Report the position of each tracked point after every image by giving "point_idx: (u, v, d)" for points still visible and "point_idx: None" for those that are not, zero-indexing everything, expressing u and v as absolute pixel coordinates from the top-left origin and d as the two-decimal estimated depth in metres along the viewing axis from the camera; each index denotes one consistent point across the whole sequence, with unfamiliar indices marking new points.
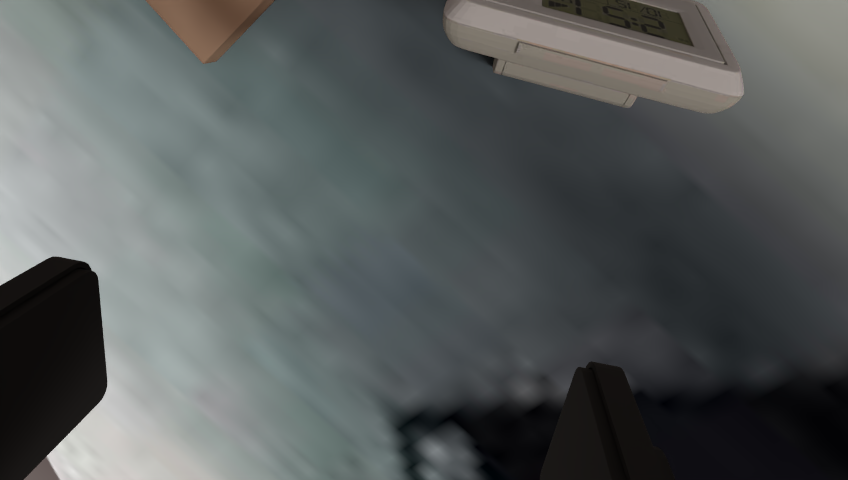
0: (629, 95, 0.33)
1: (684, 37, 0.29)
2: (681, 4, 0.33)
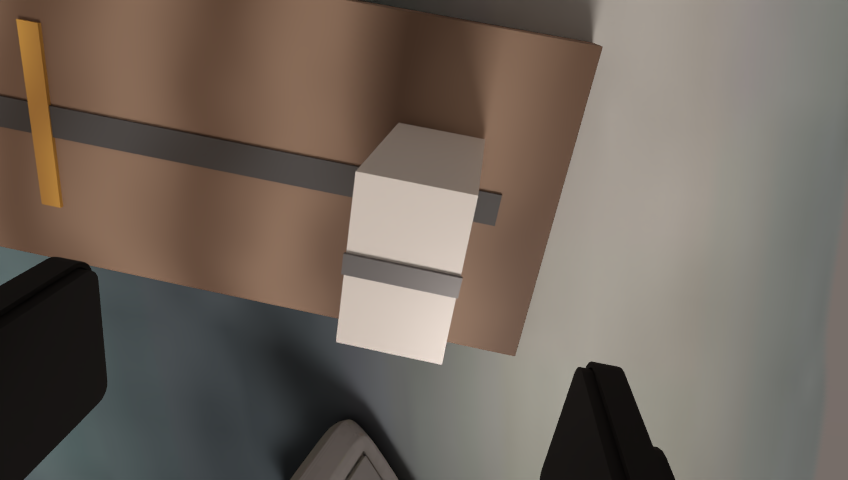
0: None
1: None
2: None
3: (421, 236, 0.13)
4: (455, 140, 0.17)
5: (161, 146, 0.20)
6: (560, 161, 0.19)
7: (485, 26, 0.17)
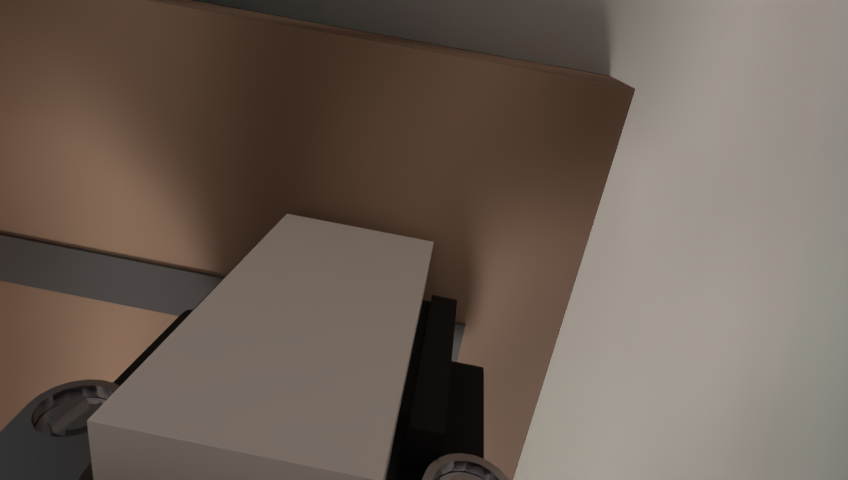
0: None
1: None
2: None
3: None
4: (378, 252, 0.10)
5: None
6: (561, 274, 0.11)
7: (428, 53, 0.10)
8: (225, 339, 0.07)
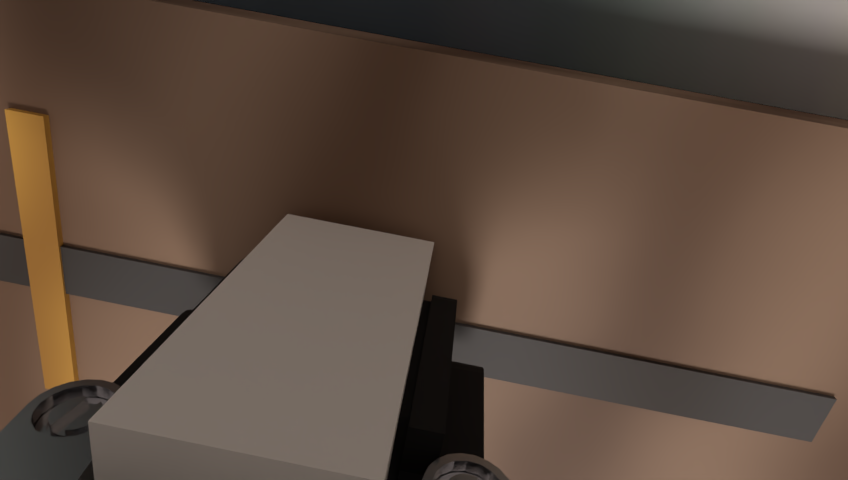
0: None
1: None
2: None
3: None
4: (379, 253, 0.10)
5: None
6: None
7: None
8: (226, 339, 0.07)
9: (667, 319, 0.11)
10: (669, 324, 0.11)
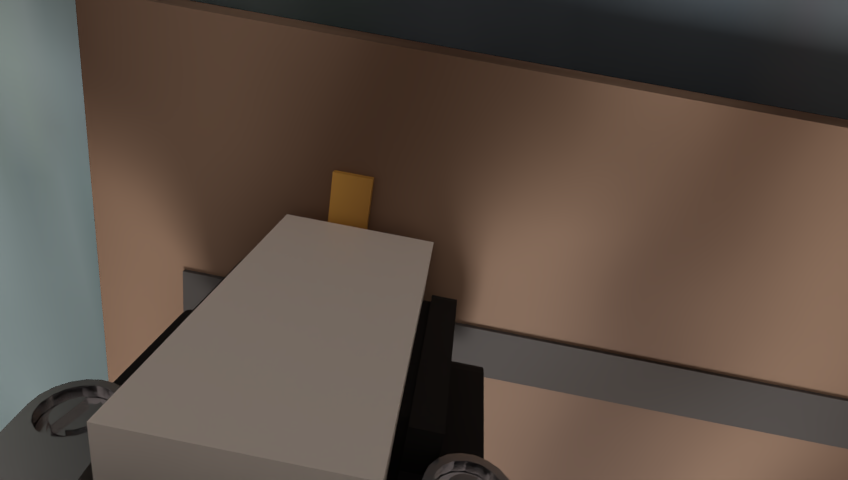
0: None
1: None
2: None
3: None
4: (378, 253, 0.10)
5: (544, 368, 0.12)
6: None
7: None
8: (225, 340, 0.07)
9: None
10: None
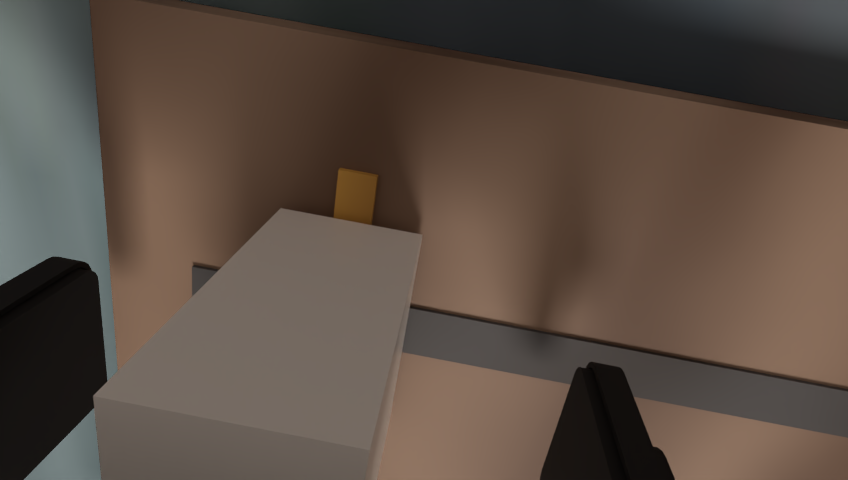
0: None
1: None
2: None
3: None
4: (369, 244, 0.10)
5: (542, 359, 0.12)
6: None
7: None
8: (222, 324, 0.07)
9: None
10: None
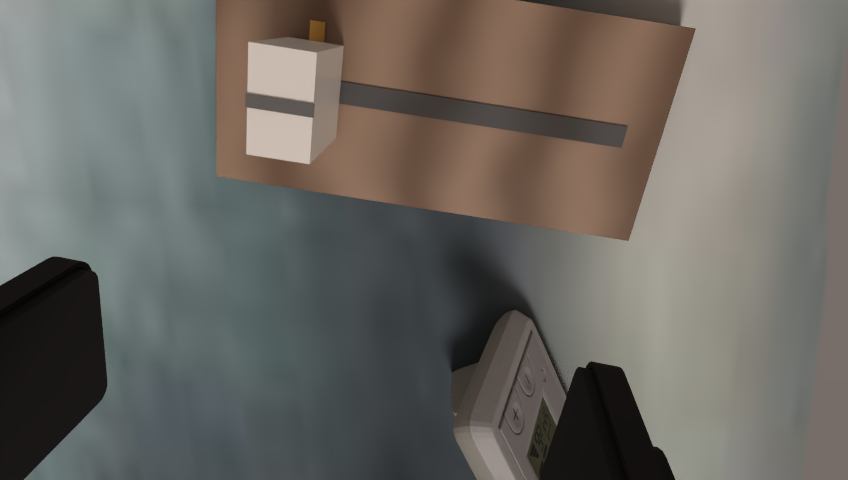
0: None
1: None
2: None
3: (289, 80, 0.24)
4: (322, 43, 0.28)
5: (397, 104, 0.30)
6: (666, 102, 0.29)
7: (624, 17, 0.28)
8: (275, 42, 0.25)
9: (561, 96, 0.30)
10: (562, 98, 0.30)
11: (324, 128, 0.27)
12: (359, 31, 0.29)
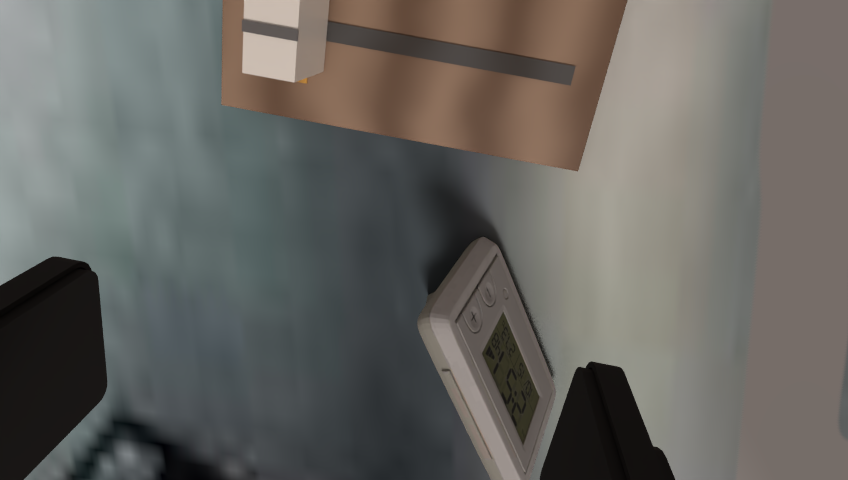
0: None
1: (525, 429, 0.39)
2: (546, 388, 0.43)
3: (277, 8, 0.29)
4: None
5: (376, 42, 0.35)
6: (609, 44, 0.34)
7: None
8: None
9: (517, 37, 0.34)
10: (518, 39, 0.34)
11: (310, 57, 0.32)
12: None
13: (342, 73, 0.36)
